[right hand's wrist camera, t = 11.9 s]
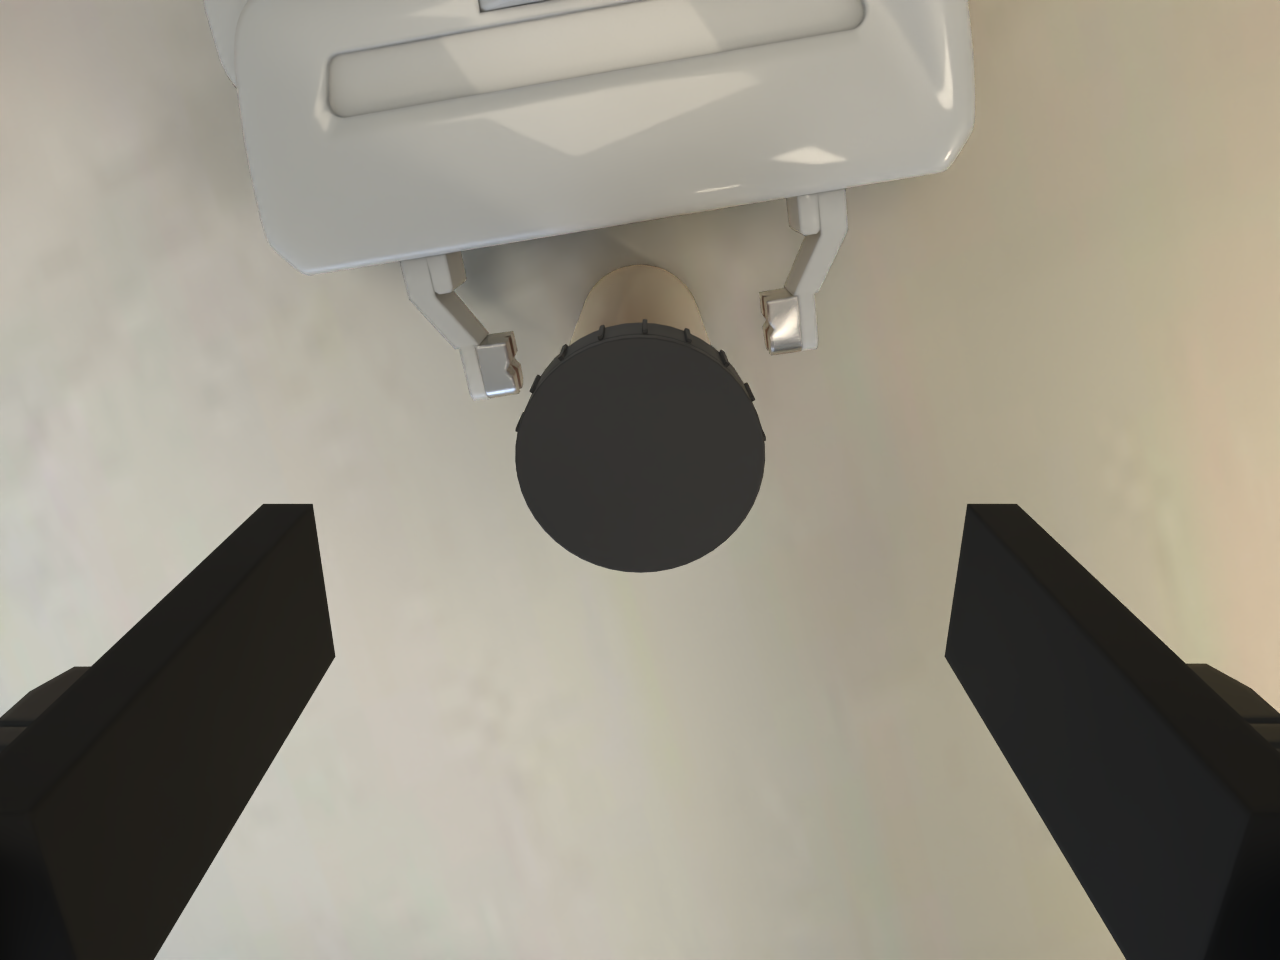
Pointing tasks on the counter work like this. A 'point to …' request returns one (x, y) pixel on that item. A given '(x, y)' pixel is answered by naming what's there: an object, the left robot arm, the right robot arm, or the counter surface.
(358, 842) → the counter surface
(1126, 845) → the right robot arm
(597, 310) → the jar
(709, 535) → the lid
